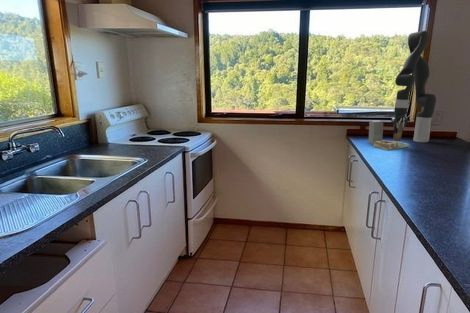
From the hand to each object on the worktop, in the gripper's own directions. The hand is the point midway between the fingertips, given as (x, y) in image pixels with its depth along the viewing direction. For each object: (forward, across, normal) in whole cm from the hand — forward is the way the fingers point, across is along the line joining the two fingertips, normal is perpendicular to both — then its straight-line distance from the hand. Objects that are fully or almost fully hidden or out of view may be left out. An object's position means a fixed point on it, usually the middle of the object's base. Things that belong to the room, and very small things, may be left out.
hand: (397, 133), depth 210 cm
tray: (+9, 0, 0) cm, 9 cm away
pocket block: (+9, +11, 0) cm, 14 cm away
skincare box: (+9, +5, -13) cm, 17 cm away
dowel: (+5, 0, 0) cm, 5 cm away
